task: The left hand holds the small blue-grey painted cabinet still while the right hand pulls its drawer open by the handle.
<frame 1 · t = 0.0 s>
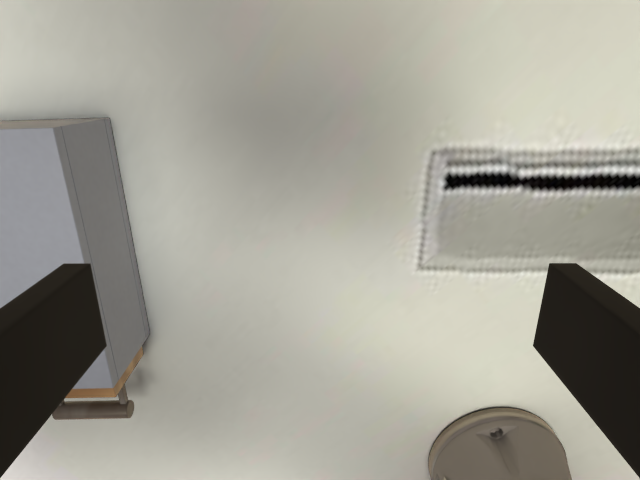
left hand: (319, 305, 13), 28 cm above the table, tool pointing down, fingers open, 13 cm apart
cabinet: (77, 236, 42), on the table
drawer: (64, 306, 39), point 4 cm above the table, slide at 0.6 cm
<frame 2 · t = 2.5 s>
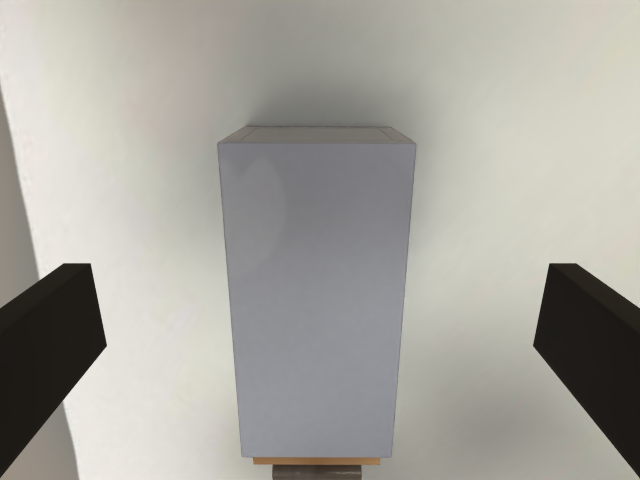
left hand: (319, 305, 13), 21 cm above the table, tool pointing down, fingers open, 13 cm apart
cabinet: (317, 266, 35), on the table
drawer: (317, 352, 33), point 4 cm above the table, slide at 0.6 cm
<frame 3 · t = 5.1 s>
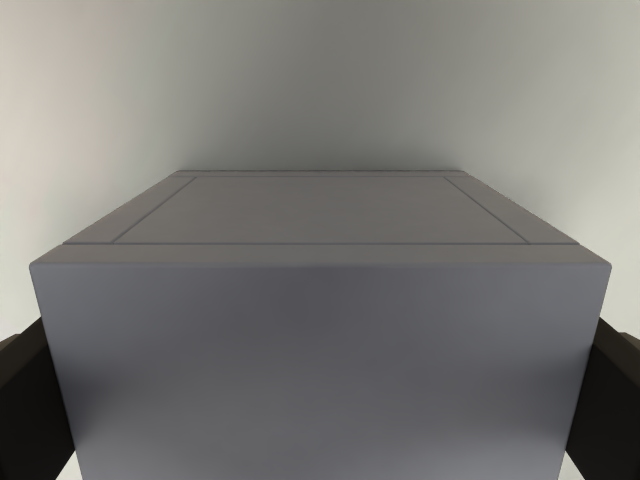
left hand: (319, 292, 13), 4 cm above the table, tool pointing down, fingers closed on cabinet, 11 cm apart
cabinet: (320, 409, 20), on the table, touching left hand
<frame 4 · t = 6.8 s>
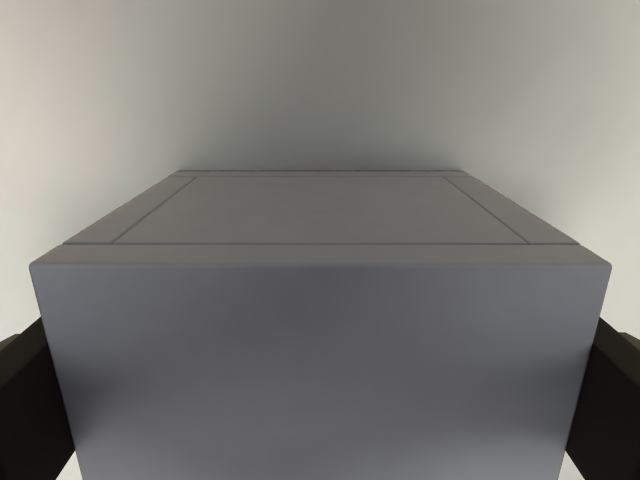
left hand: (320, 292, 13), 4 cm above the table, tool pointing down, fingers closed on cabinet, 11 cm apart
cabinet: (320, 409, 20), on the table, touching left hand
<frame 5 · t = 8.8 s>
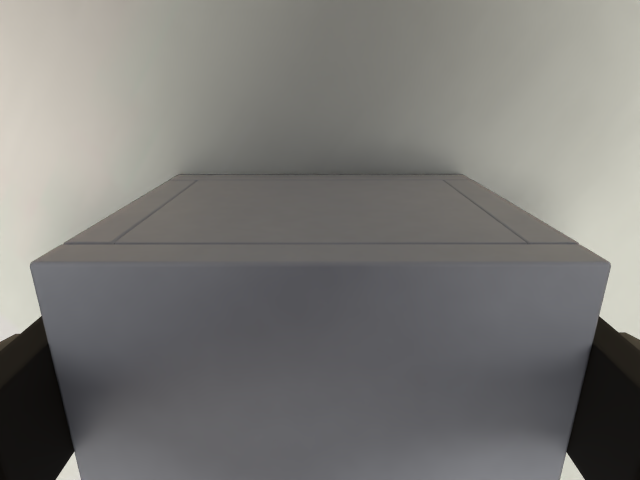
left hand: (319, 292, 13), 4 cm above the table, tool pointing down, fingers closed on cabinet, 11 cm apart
cabinet: (320, 414, 20), on the table, touching left hand
when the left hand's fingers open (4 cm above the table, at t = 10.3 s): cabinet stays where it is, on the table.
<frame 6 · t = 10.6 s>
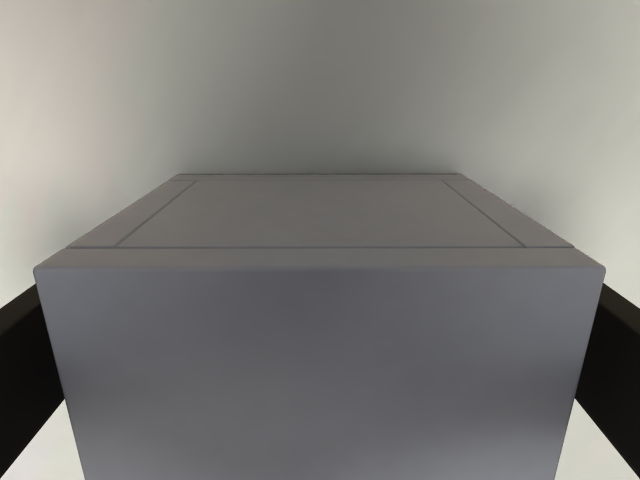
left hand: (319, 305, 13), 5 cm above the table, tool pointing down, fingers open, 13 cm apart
cabinet: (319, 411, 20), on the table
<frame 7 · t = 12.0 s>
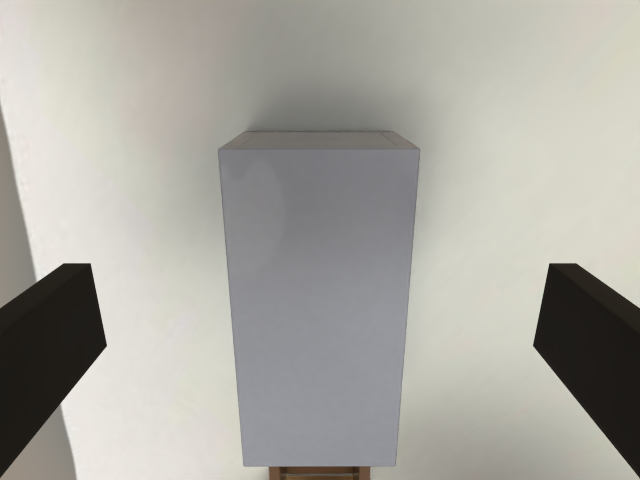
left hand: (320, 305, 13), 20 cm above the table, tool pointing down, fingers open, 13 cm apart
cabinet: (319, 272, 34), on the table
drawer: (319, 450, 35), point 4 cm above the table, slide at 9.4 cm
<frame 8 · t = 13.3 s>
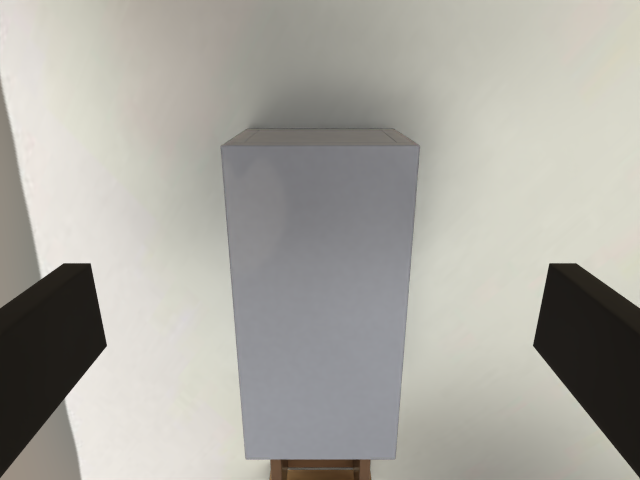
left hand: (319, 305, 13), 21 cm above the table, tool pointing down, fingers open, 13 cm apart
cabinet: (320, 268, 35), on the table
drawer: (320, 444, 36), point 4 cm above the table, slide at 9.4 cm
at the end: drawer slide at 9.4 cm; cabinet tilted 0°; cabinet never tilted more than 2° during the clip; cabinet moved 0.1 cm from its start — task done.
